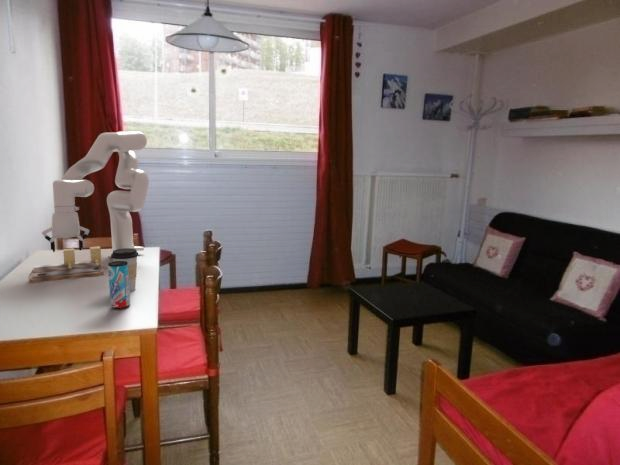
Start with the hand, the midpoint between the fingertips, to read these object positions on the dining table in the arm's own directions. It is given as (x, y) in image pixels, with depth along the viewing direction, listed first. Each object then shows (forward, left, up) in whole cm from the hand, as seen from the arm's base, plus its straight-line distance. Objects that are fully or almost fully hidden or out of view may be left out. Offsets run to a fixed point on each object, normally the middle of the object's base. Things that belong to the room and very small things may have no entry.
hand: (67, 250), depth 183 cm
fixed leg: (-11, +3, -7) cm, 13 cm away
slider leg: (-1, +3, -7) cm, 7 cm away
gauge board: (0, +4, -9) cm, 10 cm away
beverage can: (-15, +55, -9) cm, 57 cm away
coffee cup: (-19, +37, -9) cm, 42 cm away
